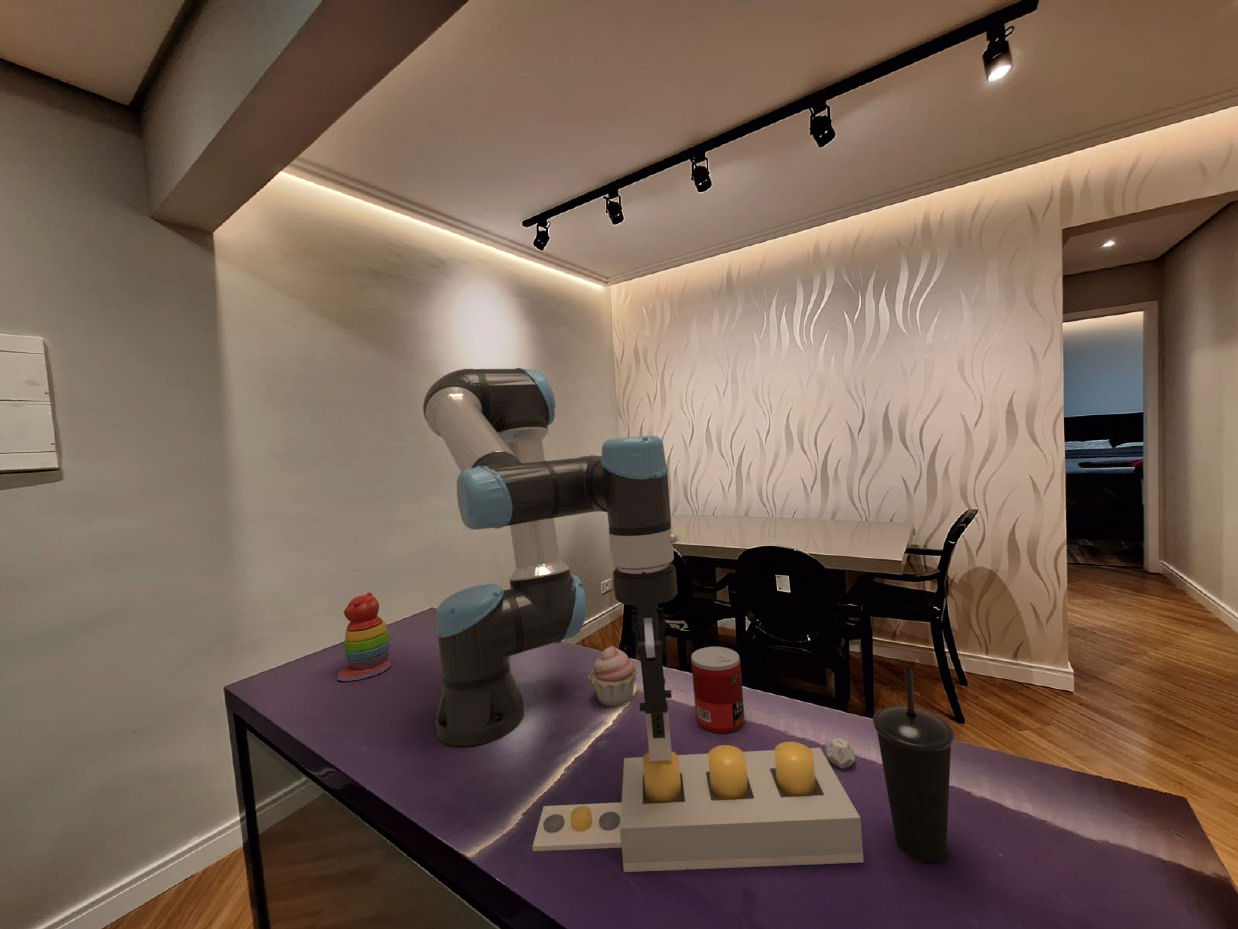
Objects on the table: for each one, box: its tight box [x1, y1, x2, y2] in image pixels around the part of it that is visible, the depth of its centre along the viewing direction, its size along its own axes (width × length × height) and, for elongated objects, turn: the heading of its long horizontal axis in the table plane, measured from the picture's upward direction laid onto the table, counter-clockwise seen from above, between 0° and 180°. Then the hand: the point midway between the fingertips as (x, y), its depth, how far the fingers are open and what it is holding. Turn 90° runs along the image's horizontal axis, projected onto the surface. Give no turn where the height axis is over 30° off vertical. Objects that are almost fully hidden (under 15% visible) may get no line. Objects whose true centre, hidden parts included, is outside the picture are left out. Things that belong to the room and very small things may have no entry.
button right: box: [774, 741, 816, 797], centre depth 58 cm, size 4×4×4 cm
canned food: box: [690, 646, 745, 734], centre depth 81 cm, size 8×8×11 cm
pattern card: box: [532, 801, 622, 852], centre depth 61 cm, size 11×6×2 cm, turn 87°
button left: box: [642, 750, 681, 803], centre depth 59 cm, size 4×4×4 cm
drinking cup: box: [872, 666, 955, 864], centre depth 54 cm, size 8×8×20 cm
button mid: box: [707, 744, 748, 800], centre depth 59 cm, size 4×4×4 cm
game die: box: [826, 737, 856, 770], centre depth 68 cm, size 4×4×3 cm
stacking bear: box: [337, 592, 391, 677], centre depth 113 cm, size 11×10×18 cm
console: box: [620, 747, 865, 873], centre depth 59 cm, size 26×12×5 cm, turn 87°
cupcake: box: [588, 645, 639, 707], centre depth 91 cm, size 9×9×10 cm
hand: (660, 756), depth 59 cm, fingers closed
